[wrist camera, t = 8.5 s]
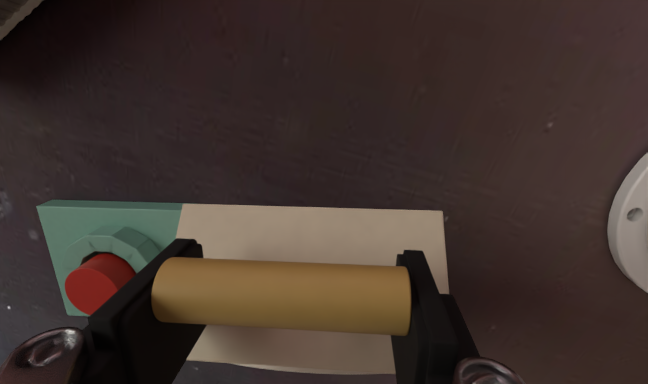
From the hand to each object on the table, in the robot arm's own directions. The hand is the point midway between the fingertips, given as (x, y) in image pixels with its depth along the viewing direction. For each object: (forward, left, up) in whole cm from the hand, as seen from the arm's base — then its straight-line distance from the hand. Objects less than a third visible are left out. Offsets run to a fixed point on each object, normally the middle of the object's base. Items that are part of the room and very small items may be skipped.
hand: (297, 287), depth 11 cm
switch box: (+15, +6, -12) cm, 20 cm away
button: (+14, +7, -10) cm, 19 cm away
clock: (0, +1, -6) cm, 6 cm away
